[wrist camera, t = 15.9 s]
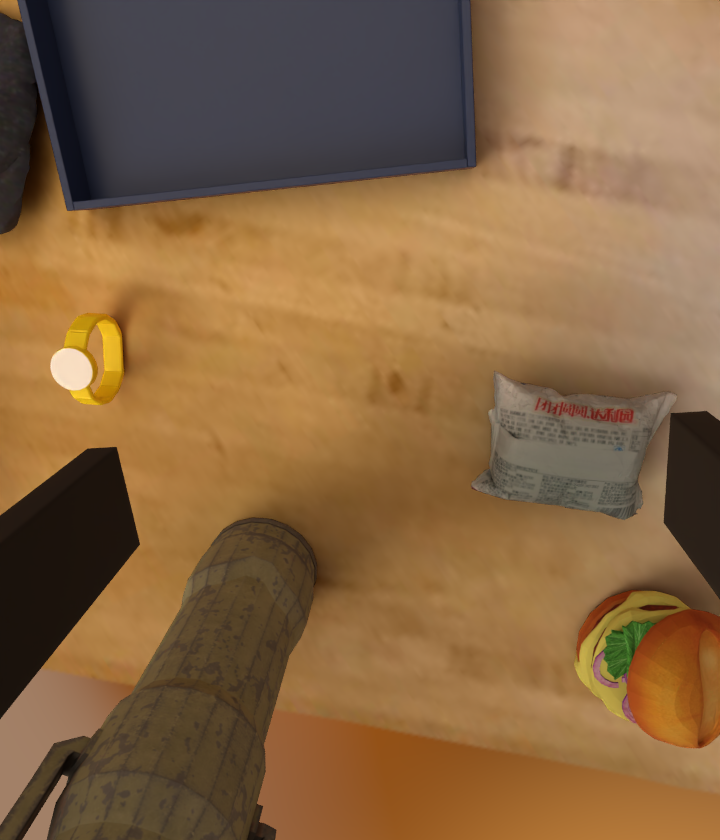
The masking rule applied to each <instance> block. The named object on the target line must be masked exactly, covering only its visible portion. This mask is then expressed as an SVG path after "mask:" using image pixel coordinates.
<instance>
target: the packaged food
mask: <svg viewBox="0 0 720 840" xmlns="http://www.w3.org/2000/svg"><path fill="white" fill-rule="evenodd" d="M493 380H494V388H495V394H494V400H495V408H494V410H493V409H491V410H490V411H489V412H488V415H489V419H490V423H491V458H490V461H489V467H490V469H487V470H485V471H484V472H483V473H482V474H480V475H479V476H480V477H479V476H478V477H479V478H478V477H477V478H476V480H474V481H472V484H471V487H472V489H474V490H477V491H480V492H483V493H485V494H489V495H492V496H495V497H499V498H502V499H506V500H515V501H523V502H532V503H540V504H548V505H558V506H564V507H565V508H572V509H579V510H586V511H594V512H601V513H604V514H607V515H609V516H612V517H615V518H618V519H623V520H625V519H628V518H629V517H631V516H634V515H635V514H637V513H636V510H637V509H638V508H639V509H641V507H642V505H643V500H642V491H641V489H640V487H639V484H638V475H639V472H640V470H641V466H642V463H643V460H644V457H645V453H646V448H647V446H648V445H649V443H650V441H651V439H652V438H653V436H654V434H655V432H656V430H657V429H658V427H659V426H660V424H661V422H662V420H663V418H664V417H665V416H666V415H667V414H668V412H669V411H670V409H671V407H672V405H673V404H674V403H675V401H676V399H677V395H676V394H675V393H672V392H669V391H667V392H665V391H663V392H660V393H654V394H651V395H645V396H640V397H633V398H619V397H610V396H601V395H592V394H570V395H566V396H562V395H560V394H559V393H558V392H557V391H555V390H554V389H551V388H547V387H541V386H537V385H532V384H526V383H520V382H517V381H515V380H512V379H509V378H507V377H506V376H504V375H503V374H501V373H499V372H497V371H494V376H493Z"/></svg>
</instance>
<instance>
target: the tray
mask: <svg viewBox="0 0 720 840" xmlns="http://www.w3.org/2000/svg"><path fill="white" fill-rule="evenodd" d="M17 1H18V5H19V9H20V13H21V18H22V22H23V26H24V30H25V35H26V39H27V43H28V47H29V51H30V56H31V60H32V64H33V68H34V73H35V77H36V81H37V85H38V89H39V94H40V98H41V102H42V106H43V110H44V115H45V119H46V123H47V127H48V132H49V136H50V140H51V144H52V148H53V153H54V157H55V161H56V165H57V170H58V174H59V178H60V182H61V186H62V191H63V195H64V199H65V203H66V208H67V211H76V210H92V209H102V208H111V207H120V206H129V205H139V204H148V203H157V202H166V201H176V200H185V199H194V198H203V197H213V196H222V195H231V194H241V193H250V192H259V191H268V190H278V189H287V188H296V187H305V186H315V185H324V184H333V183H342V182H352V181H361V180H370V179H379V178H389V177H398V176H407V175H417V174H426V173H435V172H444V171H454V170H463V169H472V168H474V167H476V140H475V113H474V85H473V57H472V30H471V2H470V0H17Z"/></svg>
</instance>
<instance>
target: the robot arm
mask: <svg viewBox="0 0 720 840" xmlns="http://www.w3.org/2000/svg"><path fill="white" fill-rule="evenodd" d="M664 524H665V525H666V526H667V528H668V529H669V530H670V532H671V533H672V535H673V536H674V537H675V539H676V540H677V541H678V543H679V544H680V545H681V547H682V548H683V550H684V551H685V552H686V554H687V555H688V556H689V558H690V559H691V561H692V562H693V563H694V565H695V566H696V567H697V569H698V570H699V571H700V573H701V574H702V576H703V577H704V578H705V580H706V581H707V582H708V584H709V585H710V586H711V588H712V589H713V591H714V592H715V593H716V595H717V596H718V597H719V599H720V421H719V420H718V419H716V418H715V417H714V416H713V415H711V414H710V413H709V412H707V411H700V412H684V413H671V417H670V433H669V448H668V464H667V479H666V495H665V510H664ZM139 545H140V542H139V538H138V534H137V530H136V526H135V522H134V517H133V513H132V509H131V505H130V501H129V497H128V492H127V488H126V484H125V480H124V476H123V472H122V468H121V463H120V459H119V455H118V451H117V447H108V448H91V449H87V450H85V451H84V452H83V453H81V454H80V455H79V456H77V457H76V458H75V459H74V460H72V461H71V462H70V463H68V464H67V465H66V466H64V467H63V468H62V469H60V470H59V471H58V472H57V473H55V474H54V475H53V476H51V477H50V478H49V479H47V480H46V481H45V482H44V483H42V484H41V485H40V486H38V487H37V488H36V489H34V490H33V491H32V492H31V493H29V494H28V495H27V496H25V497H24V498H23V499H21V500H20V501H19V502H18V503H16V504H15V505H14V506H12V507H11V508H10V509H8V510H7V511H6V512H5V513H3V514H2V515H1V516H0V719H1V717H2V716H3V715H4V713H5V712H6V711H7V710H8V708H9V707H10V706H11V705H12V703H13V702H14V701H15V700H16V698H17V697H18V696H19V695H20V694H21V692H22V691H23V690H24V688H25V687H26V686H27V685H28V683H29V682H30V681H31V680H32V678H33V677H34V676H35V675H36V674H37V672H38V671H39V670H40V669H41V667H42V666H43V665H44V664H45V662H46V661H47V660H48V659H49V657H50V656H51V655H52V654H53V652H54V651H55V650H56V649H57V647H58V646H59V645H60V644H61V642H62V641H63V640H64V639H65V637H66V636H67V635H68V634H69V632H70V631H71V630H72V629H73V627H74V626H75V625H76V624H77V622H78V621H79V620H80V619H81V617H82V616H83V615H84V614H85V612H86V611H87V610H88V609H89V607H90V606H91V605H92V604H93V602H94V601H95V600H96V599H97V597H98V596H99V595H100V594H101V592H102V591H103V590H104V589H105V587H106V586H107V585H108V584H109V582H110V581H111V580H112V579H113V577H114V576H115V575H116V574H117V572H118V571H119V570H120V569H121V567H122V566H123V565H124V564H125V562H126V561H127V560H128V559H129V557H130V556H131V555H132V554H133V552H134V551H135V550H136V549H137V547H138V546H139Z"/></svg>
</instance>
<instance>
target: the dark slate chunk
mask: <svg viewBox="0 0 720 840" xmlns="http://www.w3.org/2000/svg"><path fill="white" fill-rule="evenodd" d="M36 82H37V81H36V77H35V73H34V68H33V64H32V60H31V56H30V51H29V47H28V43H27V39H26V35H25V30H24V26H23V23H22V22H20V21H18V20H14V19H11V18H9V17H8V16H6V15H4V14H2V13H0V234H3V233H6V232H9V231H11V230H12V229H14V228H15V226H16V225H17V223H18V219H19V217H20V213H21V207H22V196H23V191H24V186H25V180H26V176H27V173H28V171H29V169H30V166H29V161H30V144H29V140H30V138H31V134H32V131H33V128H34V125H35V121H36V117H37V106H36V99H37V88H36Z"/></svg>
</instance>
